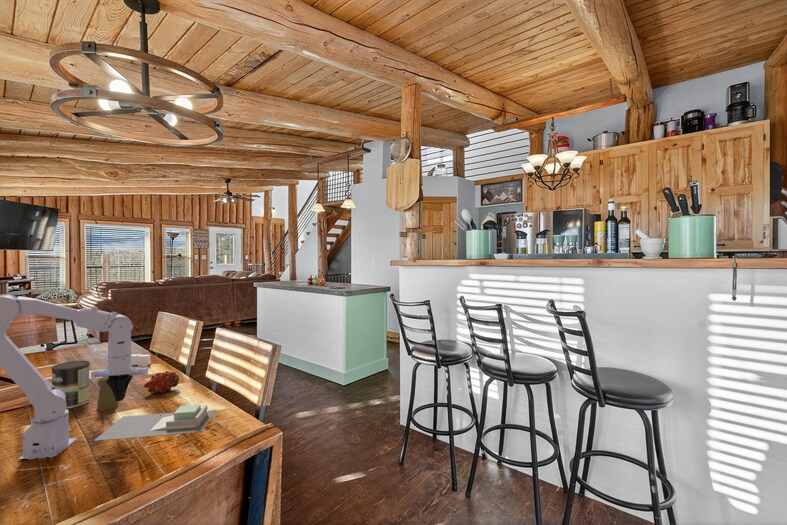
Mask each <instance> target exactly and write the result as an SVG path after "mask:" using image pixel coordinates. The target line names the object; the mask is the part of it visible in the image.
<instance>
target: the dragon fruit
mask: <svg viewBox="0 0 787 525" xmlns="http://www.w3.org/2000/svg"><path fill="white" fill-rule="evenodd" d="M179 380H180V377H179V375H177V374H176V372H171V371H168V370H164V372H157V373H156V374H155V375H152V376H151V378H150V379H149V380H148V381H147V382H146V383H145V384H144V386H143V389H145V388H147V392H148V393H151V394H153V393H152V392H159V393H163V394H164V393H166V392H169V391H171V390H172V388H175V387H177V386H178V385H179Z"/></svg>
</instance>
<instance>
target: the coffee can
mask: <svg viewBox="0 0 787 525" xmlns="http://www.w3.org/2000/svg"><path fill="white" fill-rule="evenodd" d="M90 362H91V361H89V360H74V361H71V360H70V361H67V362H62V363H61V362H60V363H57V364H54V365H53V366H51V384H52V385H53V386H55V387H57V388H60V389H62V390H64V392H65V393H66V403H67V407H66V409H67V410H68V409H72V408H77V407H80V406H83V405H85V404H87V403H89V402H90V400H91V399H90V397H91V396H90V364H91V363H90Z"/></svg>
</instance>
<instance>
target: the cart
mask: <svg viewBox="0 0 787 525" xmlns="http://www.w3.org/2000/svg"><path fill="white" fill-rule="evenodd" d="M201 406H202V405H201V404H193V405H192V404H190V405H180V406H179V407H178V408H177V409H176V410H175V412H173V413H174V420H186V419H195V417H196V415H197V414H198V413H199V411H200V410H201V408H202V407H201Z"/></svg>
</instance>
